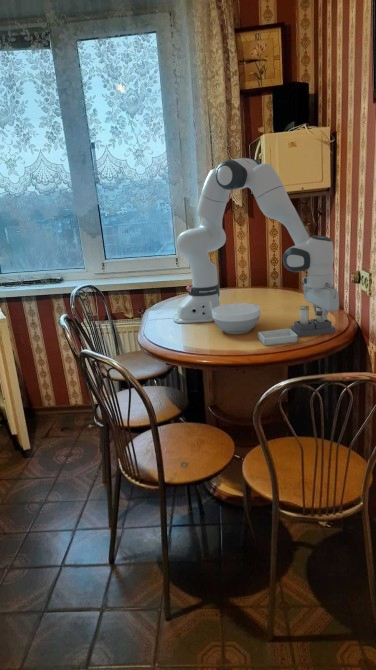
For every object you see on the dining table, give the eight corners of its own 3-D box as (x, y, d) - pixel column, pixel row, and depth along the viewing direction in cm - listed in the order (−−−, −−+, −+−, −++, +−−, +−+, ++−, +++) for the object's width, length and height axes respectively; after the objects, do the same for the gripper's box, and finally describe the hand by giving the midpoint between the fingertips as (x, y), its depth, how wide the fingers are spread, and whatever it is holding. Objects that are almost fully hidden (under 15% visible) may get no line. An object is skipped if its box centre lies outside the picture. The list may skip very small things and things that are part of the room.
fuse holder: (298, 337, 171) (298, 326, 170) (291, 330, 178) (290, 320, 177) (335, 332, 172) (335, 322, 171) (326, 326, 180) (326, 316, 178)
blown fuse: (318, 327, 173) (318, 306, 171) (314, 325, 176) (314, 304, 174) (327, 326, 173) (327, 305, 171) (323, 323, 177) (323, 303, 174)
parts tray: (264, 346, 164) (264, 339, 164) (258, 338, 173) (258, 332, 172) (298, 342, 165) (297, 335, 165) (289, 334, 174) (289, 328, 173)
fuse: (301, 329, 172) (301, 308, 170) (298, 326, 176) (297, 306, 173) (310, 328, 173) (310, 307, 170) (307, 325, 176) (307, 305, 174)
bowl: (213, 325, 195) (211, 304, 192) (258, 321, 194) (257, 301, 191) (213, 339, 177) (212, 316, 174) (263, 335, 176) (263, 313, 173)
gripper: (344, 285, 161) (343, 323, 165) (315, 275, 180) (315, 310, 184) (327, 287, 159) (327, 326, 164) (300, 277, 179) (300, 312, 183)
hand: (320, 317), depth 174 cm, fingers closed on blown fuse, 3 cm apart
